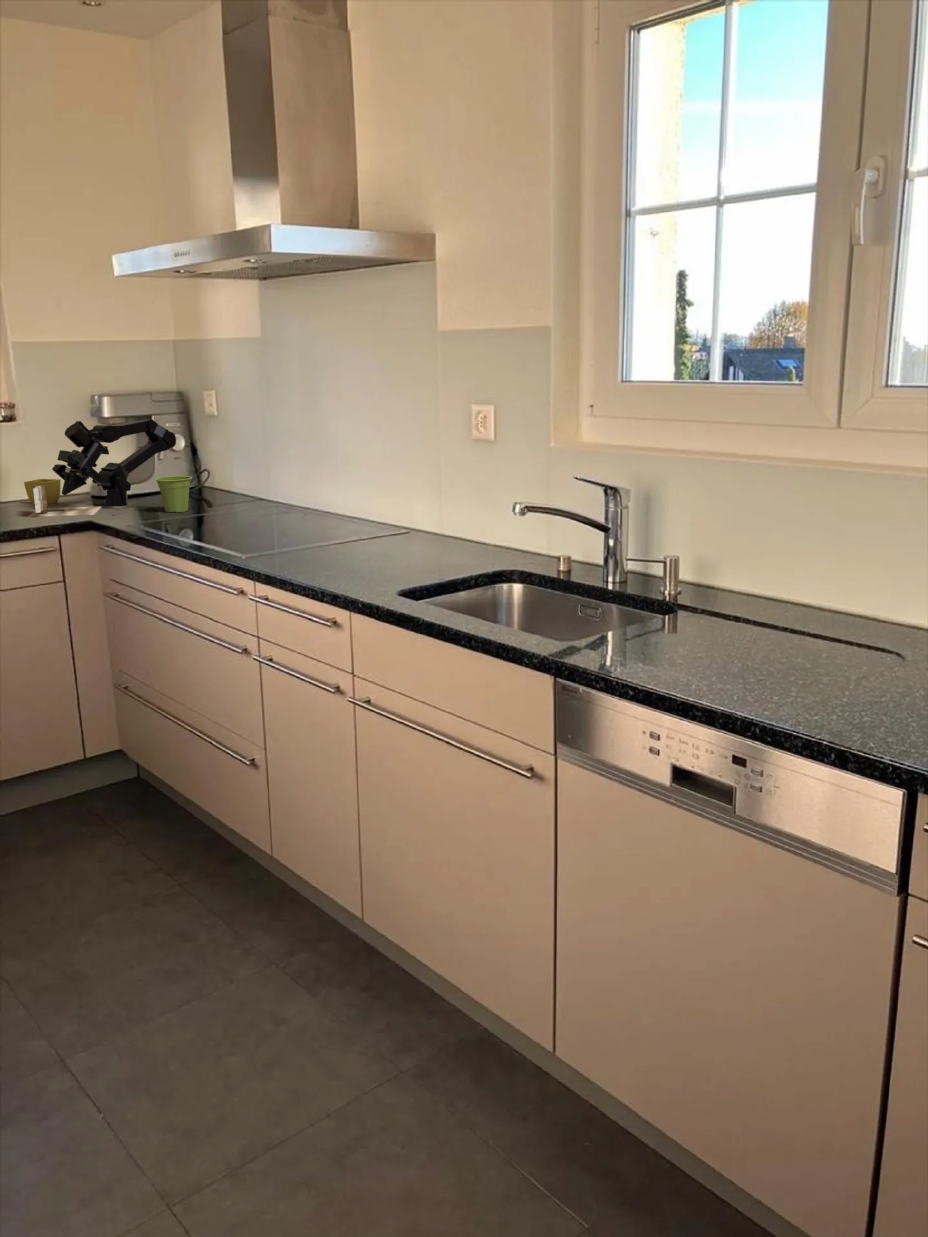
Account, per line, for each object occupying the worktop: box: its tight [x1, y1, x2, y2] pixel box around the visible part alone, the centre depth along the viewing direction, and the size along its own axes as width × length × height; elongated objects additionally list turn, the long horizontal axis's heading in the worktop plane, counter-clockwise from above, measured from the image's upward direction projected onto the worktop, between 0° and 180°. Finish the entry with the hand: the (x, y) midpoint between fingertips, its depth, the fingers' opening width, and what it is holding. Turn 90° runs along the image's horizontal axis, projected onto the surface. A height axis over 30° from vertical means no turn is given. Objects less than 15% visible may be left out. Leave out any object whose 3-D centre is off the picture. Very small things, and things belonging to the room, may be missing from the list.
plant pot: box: [155, 475, 193, 513], centre depth 339 cm, size 12×12×11 cm
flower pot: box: [23, 478, 62, 505], centre depth 352 cm, size 9×9×9 cm
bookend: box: [33, 485, 65, 513], centre depth 326 cm, size 10×9×9 cm
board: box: [27, 506, 102, 518], centre depth 334 cm, size 20×18×1 cm
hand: (63, 494), depth 329 cm, fingers closed
